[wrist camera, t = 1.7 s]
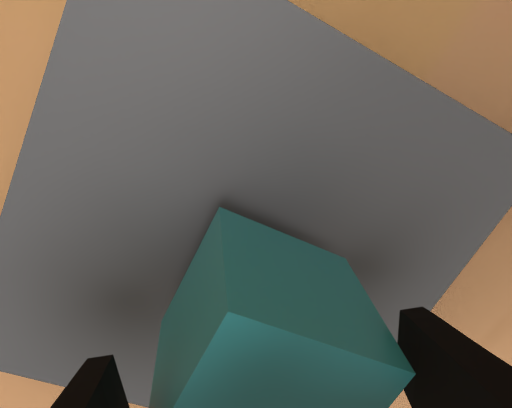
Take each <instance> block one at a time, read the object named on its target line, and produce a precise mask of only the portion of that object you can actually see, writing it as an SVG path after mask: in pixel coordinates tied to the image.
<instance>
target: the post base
mask: <svg viewBox="0 0 512 408" xmlns="http://www.w3.org/2000/svg"><path fill="white" fill-rule="evenodd" d="M511 206H512V134H511V133H509V132H508V131H506V130H504V129H503V128H501V127H499V126H498V125H496V124H494V123H493V122H491V121H489V120H488V119H486V118H484V117H483V116H481V115H479V114H478V113H476V112H474V111H473V110H471V109H469V108H467V107H466V106H464V105H462V104H461V103H459V102H457V101H456V100H454V99H452V98H451V97H449V96H447V95H446V94H444V93H442V92H441V91H439V90H437V89H436V88H434V87H432V86H430V85H429V84H427V83H425V82H424V81H422V80H420V79H419V78H417V77H415V76H414V75H412V74H410V73H409V72H407V71H405V70H404V69H402V68H400V67H399V66H397V65H395V64H393V63H392V62H390V61H388V60H387V59H385V58H383V57H382V56H380V55H378V54H377V53H375V52H373V51H372V50H370V49H368V48H367V47H365V46H363V45H362V44H360V43H358V42H356V41H355V40H353V39H351V38H350V37H348V36H346V35H345V34H343V33H341V32H340V31H338V30H336V29H335V28H333V27H331V26H330V25H328V24H326V23H325V22H323V21H321V20H320V19H318V18H316V17H314V16H313V15H311V14H309V13H308V12H306V11H304V10H303V9H301V8H299V7H298V6H296V5H294V4H293V3H291V2H289V1H288V0H67V2H66V5H65V8H64V11H63V15H62V18H61V21H60V24H59V28H58V31H57V34H56V37H55V40H54V44H53V47H52V50H51V53H50V57H49V60H48V63H47V66H46V70H45V73H44V76H43V79H42V83H41V86H40V89H39V92H38V96H37V99H36V102H35V105H34V109H33V112H32V115H31V118H30V122H29V125H28V128H27V131H26V135H25V138H24V141H23V144H22V148H21V151H20V154H19V157H18V161H17V164H16V167H15V170H14V174H13V177H12V180H11V183H10V187H9V190H8V193H7V196H6V200H5V203H4V206H3V209H2V213H1V216H0V371H2V372H6V373H10V374H14V375H18V376H22V377H26V378H30V379H34V380H38V381H42V382H47V383H51V384H55V385H59V386H63V387H66V386H67V385H68V383H69V382H70V381H71V379H72V378H73V377H74V375H75V374H76V373H77V371H78V370H79V369H80V367H81V366H82V365H83V363H84V362H85V361H86V360H87V358H93V357H99V356H106V355H112V354H113V356H114V359H115V362H116V365H117V369H118V372H119V375H120V379H121V382H122V385H123V388H124V392H125V395H126V398H127V401H128V403H132V404H136V405H140V406H144V407H149V403H150V396H151V389H152V382H153V375H154V368H155V362H156V355H157V348H158V341H159V334H160V328H161V321H162V319H163V317H164V315H165V313H166V311H167V309H168V307H169V305H170V303H171V301H172V299H173V297H174V295H175V293H176V291H177V289H178V287H179V285H180V283H181V281H182V280H183V278H184V276H185V274H186V272H187V270H188V268H189V266H190V264H191V262H192V260H193V258H194V256H195V254H196V252H197V250H198V248H199V246H200V244H201V242H202V240H203V238H204V236H205V234H206V232H207V230H208V228H209V226H210V224H211V222H212V220H213V218H214V216H215V214H216V212H217V210H218V208H219V207H221V208H224V209H226V210H229V211H231V212H234V213H236V214H238V215H241V216H243V217H246V218H248V219H251V220H253V221H256V222H258V223H260V224H263V225H265V226H268V227H270V228H273V229H275V230H278V231H280V232H282V233H285V234H287V235H290V236H292V237H295V238H297V239H300V240H302V241H304V242H307V243H309V244H312V245H314V246H317V247H319V248H322V249H324V250H326V251H329V252H331V253H334V254H336V255H339V256H341V257H344V258H346V260H347V262H348V263H349V265H350V267H351V268H352V270H353V272H354V273H355V275H356V276H357V278H358V280H359V281H360V283H361V285H362V286H363V288H364V290H365V291H366V293H367V294H368V296H369V298H370V299H371V301H372V303H373V304H374V306H375V308H376V309H377V311H378V313H379V314H380V316H381V317H382V319H383V321H384V322H385V324H386V326H387V327H388V329H389V331H390V332H391V334H392V336H393V337H394V339H395V340H396V342H398V327H399V313H400V310H403V309H410V308H416V307H424V308H426V309H427V310H429V311H431V309H432V308H433V307H434V306H435V304H436V303H437V302H438V300H439V299H440V298H441V297H442V295H443V294H444V293H445V291H446V290H447V289H448V288H449V286H450V285H451V284H452V282H453V281H454V280H455V278H456V277H457V276H458V275H459V273H460V272H461V271H462V269H463V268H464V267H465V266H466V264H467V263H468V262H469V260H470V259H471V258H472V257H473V255H474V254H475V253H476V251H477V250H478V249H479V247H480V246H481V245H482V244H483V242H484V241H485V240H486V238H487V237H488V236H489V235H490V233H491V232H492V231H493V229H494V228H495V227H496V226H497V224H498V223H499V222H500V220H501V219H502V218H503V216H504V215H505V214H506V213H507V211H508V210H509V209H510V207H511Z"/></svg>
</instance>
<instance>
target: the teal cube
mask: <svg viewBox="0 0 512 408" xmlns="http://www.w3.org/2000/svg"><path fill="white" fill-rule="evenodd" d="M415 374H416V373H415V372H414V370H413V368H412V367H411V365H410V363H409V362H408V360H407V359H406V357H405V355H404V354H403V352H402V350H401V349H400V347H399V345H398V344H397V342H396V340H395V339H394V337H393V336H392V334H391V332H390V331H389V329H388V327H387V326H386V324H385V322H384V321H383V319H382V317H381V316H380V314H379V313H378V311H377V309H376V308H375V306H374V304H373V303H372V301H371V299H370V298H369V296H368V294H367V293H366V291H365V290H364V288H363V286H362V285H361V283H360V281H359V280H358V278H357V276H356V275H355V273H354V272H353V270H352V268H351V267H350V265H349V263H348V262H347V260H346V258H344V257H341V256H339V255H336V254H334V253H331V252H329V251H326V250H324V249H322V248H319V247H317V246H314V245H312V244H309V243H307V242H304V241H302V240H300V239H297V238H295V237H292V236H290V235H287V234H285V233H282V232H280V231H278V230H275V229H273V228H270V227H268V226H265V225H263V224H260V223H258V222H256V221H253V220H251V219H248V218H246V217H243V216H241V215H238V214H236V213H234V212H231V211H229V210H226V209H224V208H221V207H219V208H218V210H217V212H216V214H215V216H214V218H213V220H212V222H211V224H210V226H209V228H208V230H207V232H206V234H205V236H204V238H203V240H202V242H201V244H200V246H199V248H198V250H197V252H196V254H195V256H194V258H193V260H192V262H191V264H190V266H189V268H188V270H187V272H186V274H185V276H184V278H183V280H182V281H181V283H180V285H179V287H178V289H177V291H176V293H175V295H174V297H173V299H172V301H171V303H170V305H169V307H168V309H167V311H166V313H165V315H164V317H163V319H162V321H161V328H160V334H159V341H158V348H157V355H156V362H155V368H154V375H153V382H152V389H151V396H150V403H149V408H389V406H390V405H391V404H392V403H393V402H394V400H395V399H396V398H397V397H398V395H399V394H400V393H401V392H402V390H403V389H404V388H405V387H406V385H407V384H408V383H409V382H410V381H411V379H412V378H413V377H414V376H415Z"/></svg>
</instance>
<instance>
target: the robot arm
mask: <svg viewBox="0 0 512 408" xmlns="http://www.w3.org/2000/svg"><path fill="white" fill-rule="evenodd" d="M397 344H398V345H399V347H400V349H401V350H402V352H403V354H404V355H405V357H406V359H407V360H408V362H409V363H410V365H411V367H412V368H413V370H414V372H415V373H416V374H415V376H414V377H413V378H412V379H411V381H410V382H409V383H408V384H407V385H406V387H405V388H404V391H405V394H406V396H407V398H408V400H409V402H410V405H411V407H412V408H512V366H510V365H509V364H507V363H506V362H504V361H503V360H501V359H500V358H498V357H497V356H495V355H494V354H492V353H491V352H489V351H488V350H486V349H485V348H483V347H482V346H480V345H479V344H477V343H476V342H474V341H473V340H471V339H470V338H468V337H467V336H465V335H464V334H462V333H461V332H460V331H458V330H457V329H455V328H454V327H452V326H451V325H449V324H448V323H447V322H445V321H444V320H442V319H441V318H439V317H438V316H436V315H435V314H433V313H432V312H430V311H429V310H427V309H426V308H424V307H416V308H410V309H403V310H400V313H399V327H398V342H397ZM50 408H129V405H128V401H127V398H126V395H125V392H124V388H123V385H122V382H121V379H120V375H119V372H118V369H117V365H116V362H115V359H114V356H113V354H112V355H106V356H99V357H93V358H87V360H86V361H85V362H84V363H83V365H82V366H81V367H80V369H79V370H78V371H77V373H76V374H75V375H74V377H73V378H72V379H71V381H70V382H69V383H68V385H67V386H66V387H65V389H64V390H63V391H62V393H61V394H60V395H59V397H58V398H57V399H56V401H55V402H54V403H53V405H52V406H51V407H50Z"/></svg>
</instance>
